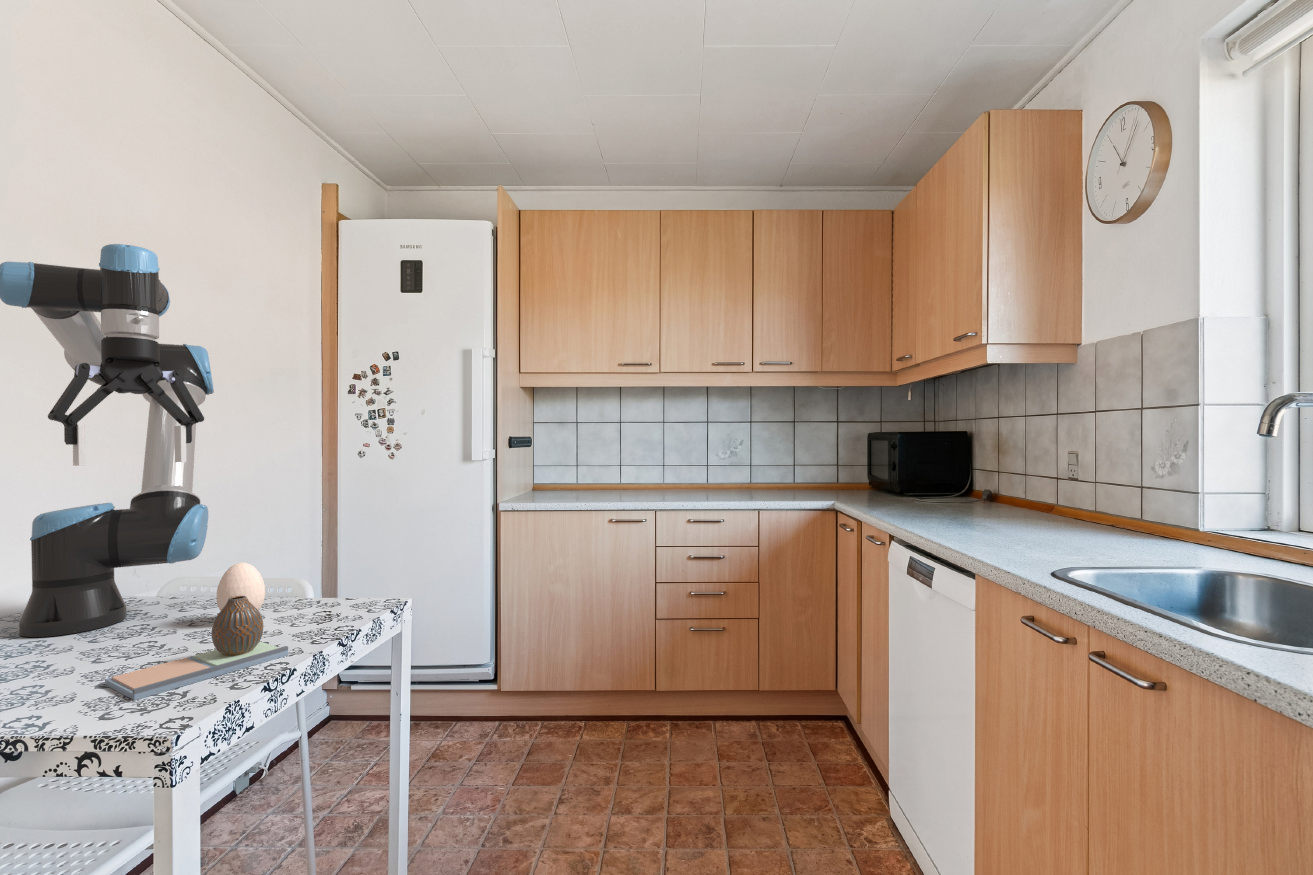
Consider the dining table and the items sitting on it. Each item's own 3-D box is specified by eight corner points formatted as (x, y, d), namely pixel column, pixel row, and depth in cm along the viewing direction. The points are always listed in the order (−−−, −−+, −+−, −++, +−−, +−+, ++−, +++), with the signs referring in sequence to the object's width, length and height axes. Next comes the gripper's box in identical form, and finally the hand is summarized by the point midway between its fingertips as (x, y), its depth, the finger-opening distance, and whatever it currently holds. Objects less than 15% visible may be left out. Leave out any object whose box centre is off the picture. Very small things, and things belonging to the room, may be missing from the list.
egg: (273, 618, 122) (272, 561, 122) (228, 628, 115) (227, 568, 115) (253, 612, 126) (253, 557, 126) (209, 622, 119) (208, 564, 119)
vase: (237, 660, 94) (236, 603, 94) (200, 657, 96) (199, 602, 96) (273, 645, 101) (273, 592, 101) (239, 643, 103) (238, 591, 103)
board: (105, 684, 89) (104, 674, 89) (254, 644, 105) (254, 636, 105) (134, 700, 83) (134, 689, 83) (288, 655, 100) (288, 646, 100)
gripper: (35, 325, 91) (36, 467, 91) (224, 345, 112) (226, 461, 112) (20, 330, 95) (22, 466, 95) (206, 349, 116) (207, 461, 116)
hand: (132, 464), depth 103 cm, fingers open, 13 cm apart
